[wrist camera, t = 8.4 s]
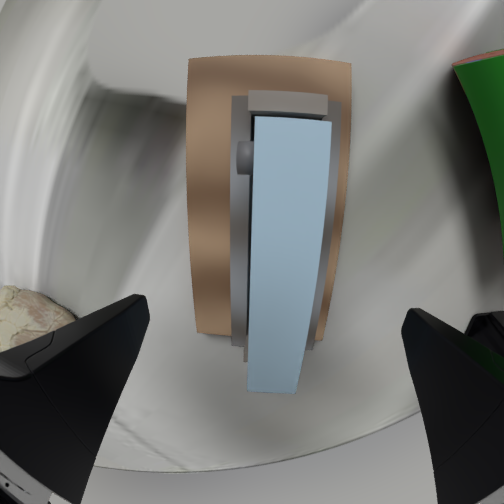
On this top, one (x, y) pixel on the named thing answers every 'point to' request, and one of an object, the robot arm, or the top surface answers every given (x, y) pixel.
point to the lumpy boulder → (28, 316)
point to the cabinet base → (241, 186)
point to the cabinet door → (283, 243)
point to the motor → (488, 110)
